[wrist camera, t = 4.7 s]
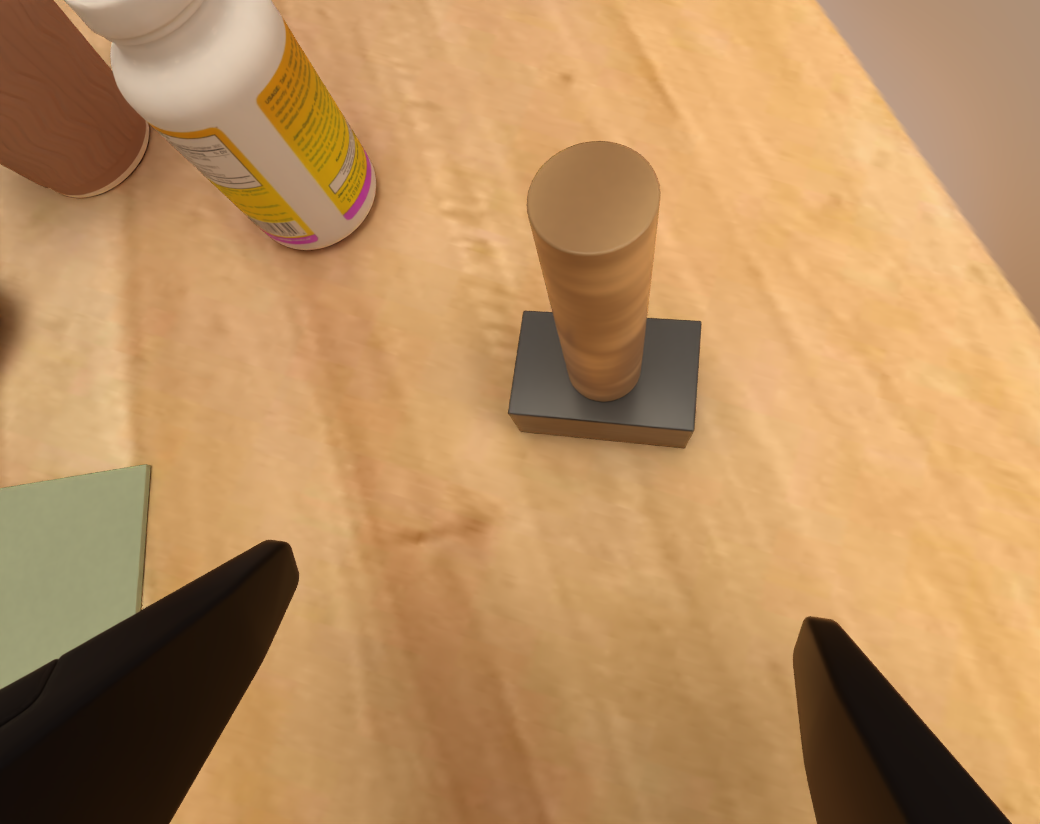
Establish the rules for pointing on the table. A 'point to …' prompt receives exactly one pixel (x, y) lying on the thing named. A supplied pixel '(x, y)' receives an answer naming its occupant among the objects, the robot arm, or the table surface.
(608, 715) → the table surface
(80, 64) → the coffee cup
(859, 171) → the table surface
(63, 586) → the mat
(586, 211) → the hammer
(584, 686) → the table surface
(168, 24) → the supplement bottle
